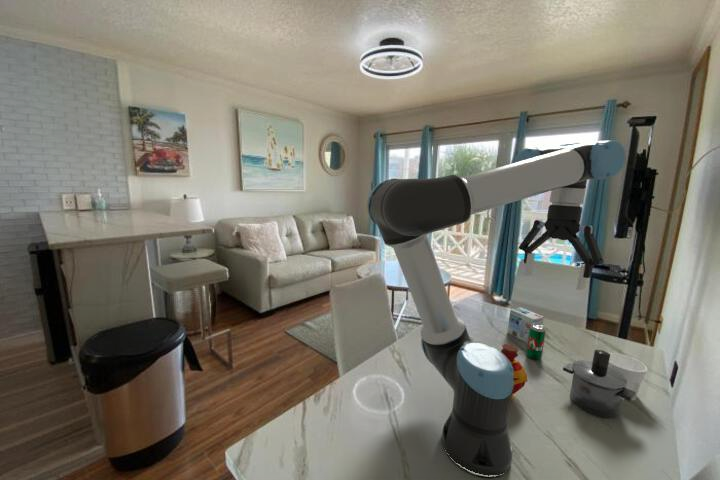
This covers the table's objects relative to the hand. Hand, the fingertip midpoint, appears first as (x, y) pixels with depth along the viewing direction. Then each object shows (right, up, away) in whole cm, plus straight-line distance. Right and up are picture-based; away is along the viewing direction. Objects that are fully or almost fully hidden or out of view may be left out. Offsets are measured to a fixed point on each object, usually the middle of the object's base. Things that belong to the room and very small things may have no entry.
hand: (552, 281), depth 84 cm
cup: (+26, -35, +9) cm, 44 cm away
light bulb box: (+14, -29, +41) cm, 52 cm away
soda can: (+10, -31, +27) cm, 42 cm away
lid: (+13, -27, +1) cm, 30 cm away
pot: (+13, -35, +3) cm, 38 cm away
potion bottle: (-11, -34, +6) cm, 36 cm away
